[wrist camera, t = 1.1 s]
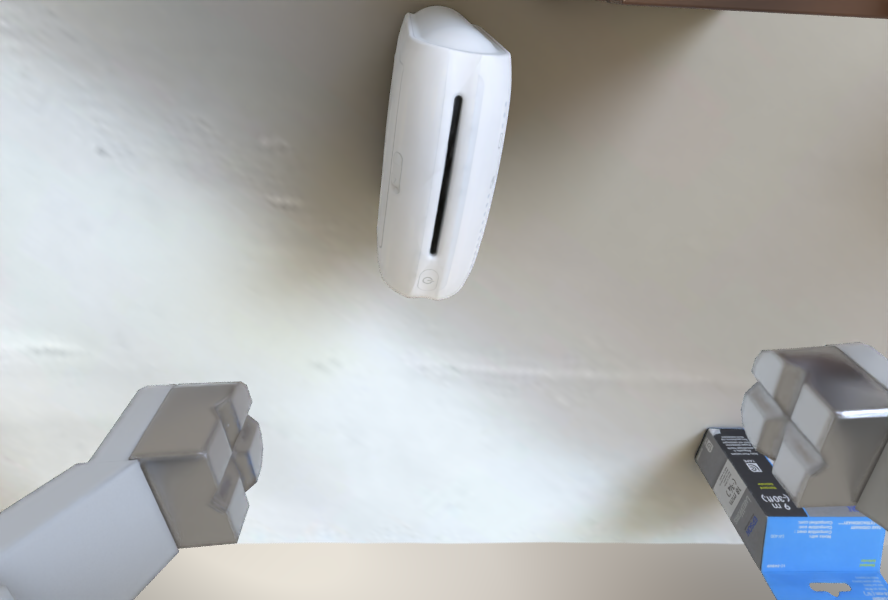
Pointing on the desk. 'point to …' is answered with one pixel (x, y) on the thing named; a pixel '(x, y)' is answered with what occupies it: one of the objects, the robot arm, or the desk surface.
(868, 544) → the tape cartridge
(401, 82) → the photo printer
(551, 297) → the desk surface
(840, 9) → the stand
